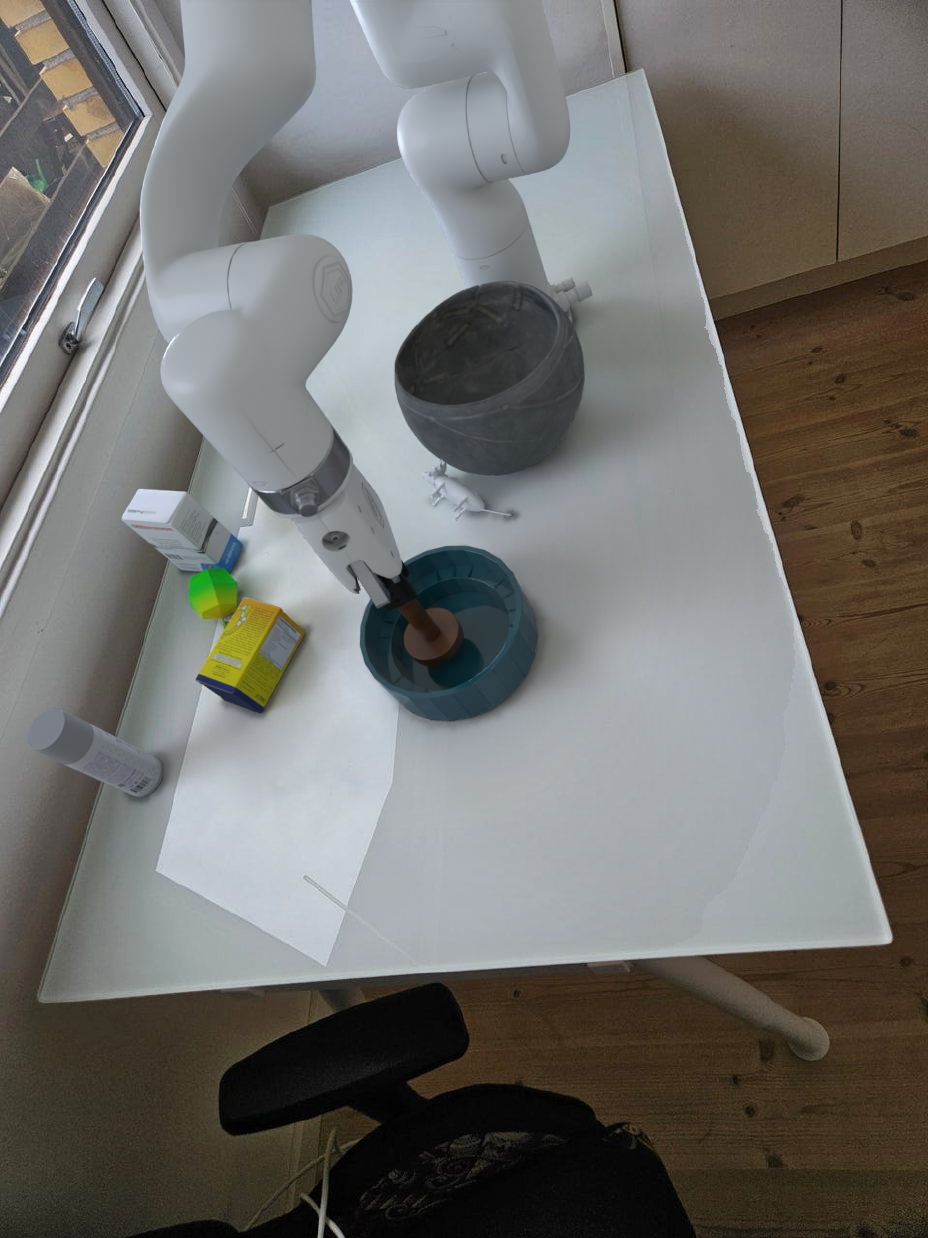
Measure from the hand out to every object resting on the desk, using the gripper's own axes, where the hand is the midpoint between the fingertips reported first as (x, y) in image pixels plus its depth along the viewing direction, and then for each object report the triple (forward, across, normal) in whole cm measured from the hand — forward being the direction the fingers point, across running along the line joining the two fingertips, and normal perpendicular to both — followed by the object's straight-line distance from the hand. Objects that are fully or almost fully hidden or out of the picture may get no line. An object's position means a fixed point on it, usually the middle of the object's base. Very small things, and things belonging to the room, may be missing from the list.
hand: (397, 590), depth 75 cm
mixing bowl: (+13, 0, -2) cm, 13 cm away
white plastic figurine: (+11, +16, -6) cm, 20 cm away
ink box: (+13, +29, +25) cm, 41 cm away
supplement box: (+10, +5, +25) cm, 27 cm away
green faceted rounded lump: (+9, +19, +22) cm, 30 cm away
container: (+13, +2, +38) cm, 40 cm away
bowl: (+13, +24, -16) cm, 32 cm away
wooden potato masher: (+10, 0, 0) cm, 10 cm away
